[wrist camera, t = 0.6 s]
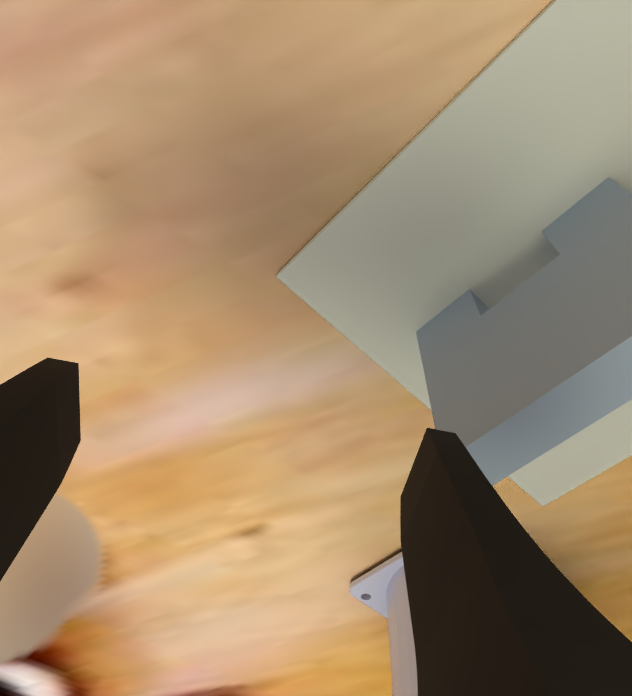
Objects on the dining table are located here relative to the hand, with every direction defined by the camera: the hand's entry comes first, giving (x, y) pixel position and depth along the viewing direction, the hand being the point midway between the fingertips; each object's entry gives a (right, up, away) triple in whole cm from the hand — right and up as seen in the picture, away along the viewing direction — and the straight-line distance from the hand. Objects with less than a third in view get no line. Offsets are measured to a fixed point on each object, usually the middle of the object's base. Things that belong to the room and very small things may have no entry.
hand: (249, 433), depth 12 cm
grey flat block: (+8, +4, +8) cm, 12 cm away
